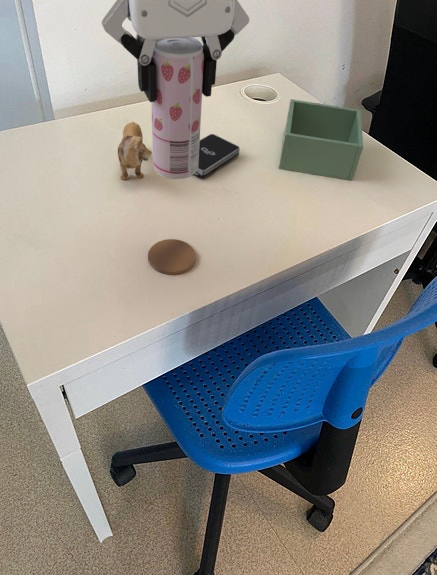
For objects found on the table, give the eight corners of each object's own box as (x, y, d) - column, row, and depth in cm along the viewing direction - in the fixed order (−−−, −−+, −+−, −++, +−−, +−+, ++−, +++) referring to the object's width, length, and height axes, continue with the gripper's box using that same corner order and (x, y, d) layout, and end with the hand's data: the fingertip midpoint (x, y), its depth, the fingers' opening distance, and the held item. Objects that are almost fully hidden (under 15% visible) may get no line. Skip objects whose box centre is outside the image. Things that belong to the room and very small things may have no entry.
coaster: (199, 246, 75) (199, 243, 75) (190, 278, 71) (190, 275, 70) (154, 238, 76) (154, 235, 75) (142, 270, 71) (142, 267, 71)
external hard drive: (173, 165, 90) (173, 155, 88) (211, 142, 96) (212, 132, 94) (203, 181, 87) (203, 171, 85) (240, 156, 93) (241, 147, 92)
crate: (350, 142, 100) (360, 109, 95) (352, 180, 91) (363, 146, 86) (284, 131, 101) (290, 99, 96) (278, 168, 91) (285, 134, 86)
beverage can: (175, 150, 65) (177, 29, 54) (207, 168, 63) (216, 46, 52) (143, 166, 62) (138, 42, 51) (176, 186, 60) (178, 60, 49)
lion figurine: (153, 190, 84) (152, 143, 77) (122, 192, 83) (118, 145, 76) (142, 143, 94) (140, 98, 87) (113, 145, 92) (110, 99, 86)
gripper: (86, -105, 37) (107, 118, 50) (290, -100, 42) (260, 102, 55) (69, -124, 42) (93, 85, 55) (255, -118, 47) (235, 72, 60)
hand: (177, 92), depth 55 cm, fingers closed on beverage can, 5 cm apart
